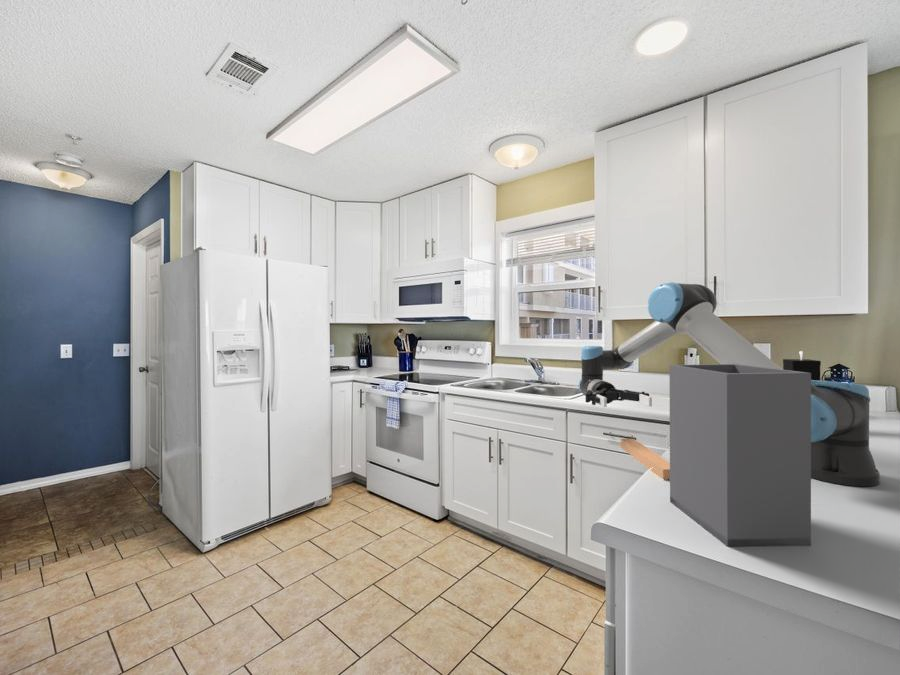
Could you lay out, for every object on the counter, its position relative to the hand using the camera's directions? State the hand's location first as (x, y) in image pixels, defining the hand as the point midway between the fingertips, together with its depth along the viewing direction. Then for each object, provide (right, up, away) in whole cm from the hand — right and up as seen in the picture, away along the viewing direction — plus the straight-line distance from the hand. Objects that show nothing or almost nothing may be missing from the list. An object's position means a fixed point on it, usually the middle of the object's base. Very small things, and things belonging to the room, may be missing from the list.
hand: (628, 402), depth 123 cm
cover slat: (+1, -15, -10) cm, 18 cm away
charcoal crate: (0, -15, -45) cm, 48 cm away
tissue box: (+71, -13, +23) cm, 76 cm away
